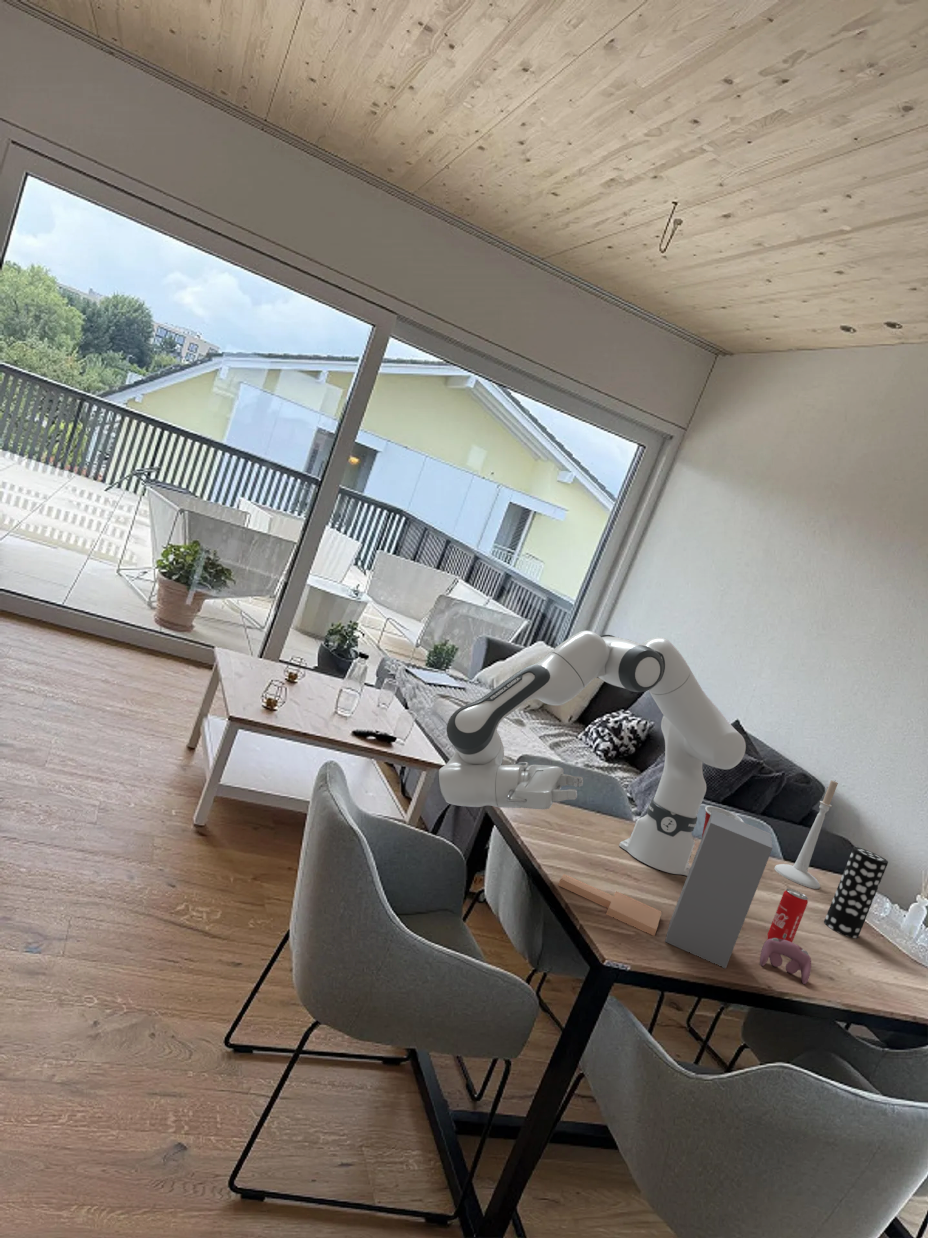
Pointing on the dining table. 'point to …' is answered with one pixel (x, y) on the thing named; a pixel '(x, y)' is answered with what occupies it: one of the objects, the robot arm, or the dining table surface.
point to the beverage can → (788, 915)
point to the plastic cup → (725, 812)
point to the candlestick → (808, 847)
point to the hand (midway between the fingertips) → (579, 788)
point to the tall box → (719, 888)
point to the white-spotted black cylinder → (855, 892)
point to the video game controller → (783, 947)
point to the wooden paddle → (617, 905)
